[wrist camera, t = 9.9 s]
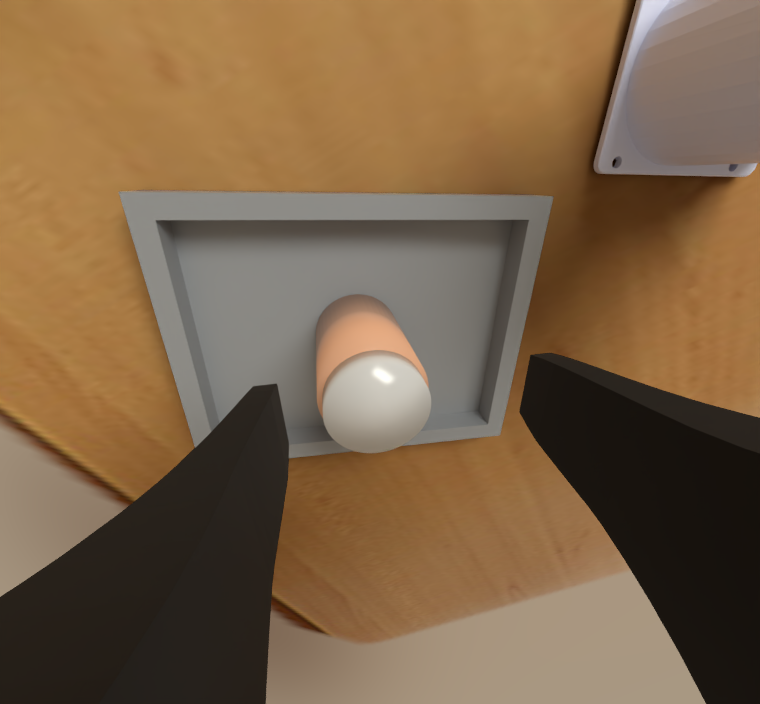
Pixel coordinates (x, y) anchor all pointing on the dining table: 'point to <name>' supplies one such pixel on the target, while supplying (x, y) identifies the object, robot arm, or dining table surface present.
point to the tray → (338, 294)
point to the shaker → (368, 377)
